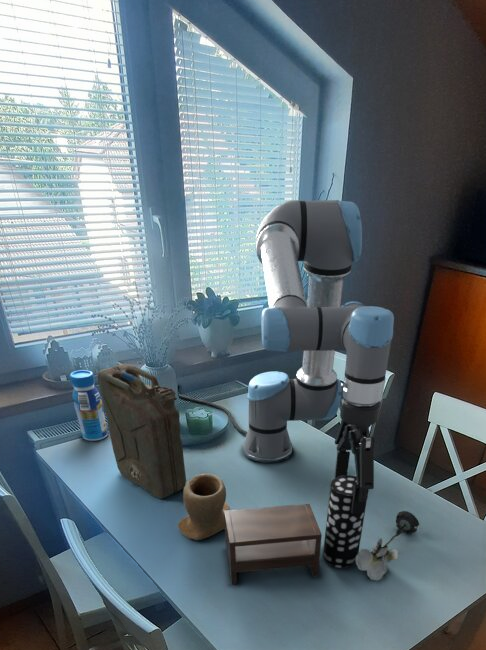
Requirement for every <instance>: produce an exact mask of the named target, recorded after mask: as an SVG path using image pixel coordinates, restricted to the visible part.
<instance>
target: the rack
mask: <svg viewBox="0 0 486 650" xmlns="http://www.w3.org/2000/svg"><path fill="white" fill-rule="evenodd" d="M224 520H225V529H224V537H225V553H226V558H227V563H228V571H229V575H230V576H229V577H230V582H231V583H230V584H231V585H237V584H238V577H237V573H244V572H254V571H265V570H274V569H275V570H276V569H284V568H286V569H287V568H295V567H307V566H308V567H309V571H310V573H311V576H312V577H318V575H319V565H320V555H321V545H322V538H323V537H322V535H323V534H322V531H321V529H320V525H319V524H318V522H317V519H316V516H315V514H314V511H313V509H312V506H311V504H310V503H301V504H289V505H278V506H277V505H276V506H267V507H252V508H241V509H239V508H238V509H230V510H227V511H224Z"/></svg>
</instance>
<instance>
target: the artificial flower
mask: <svg viewBox="0 0 486 650" xmlns="http://www.w3.org/2000/svg"><path fill="white" fill-rule="evenodd" d="M395 525H396V528H397V529H396V532H395V534H394V535H393V536H392V537H391V538H390V539H389V541H387V542H386V543H385V544H384V545H383V537H380V538H379V539H378V540H377V542H376V543H375V544H374V545H373V548H372V551H370V550H369V549H366V548H363V549H360V550H359V552H358V554H357V555H356V559H355V560H356V563H355V564H356V566H357V569H358V570H360V571H364V572H365V571H366V574H367V576H368V578H369V579H370V580H371V581H380V580H382V578H383V576H384V575H385V574H387V571H388V567H387V565H386V564H387V563H391V562H393V561H396V560H398V556H399V550H398V549H397V548H392V549H389V547H388V546H389V545H390V543H391V542H392V541H394V539H395V538H396V537H399V536H400V535H402V533H403V532H404V533H406V534H412V533H417V531H418V529H417V528H418V527H419V526H420V522H419V520H418V518H417V517H416V515H414V514H413V513H412V512H410V511H407V510H401V511H399V512H397V513H396V516H395ZM382 545H383V546H382ZM383 558H384V560H383Z"/></svg>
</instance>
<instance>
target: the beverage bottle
mask: <svg viewBox="0 0 486 650" xmlns="http://www.w3.org/2000/svg"><path fill="white" fill-rule="evenodd" d="M69 380H70V383H71V386H72V387H73V391H72V395H71V397H72V401H74V402H73V407H74V410H75V413H76V417H77V420H78V421H77V422H78V423H79V424H78V425H79V428H80V433H81V437H82V438H83V439H84V440H86V441H90V442H91V441H92V442H95V441H100V440H104V439H105V438H107V436H108V434H109V429H108V425H107V421H106V418H105V413H104V412H105V411H104V406H103V400H102V398H101V392H99V391H100V390H98V388H97V387H96V386H95V382H96V381H95V376H94V374H93V371H91V370H88V369H78V370H74V371H72V372H71V373H70V374H69Z"/></svg>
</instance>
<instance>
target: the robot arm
mask: <svg viewBox="0 0 486 650" xmlns="http://www.w3.org/2000/svg"><path fill="white" fill-rule="evenodd" d="M362 226H363V225H362V218H361V213H360V209H359V207H358V205H357V204H356V203H355V202H354V201H345V200H339V199H331V200H328V199H327V200H326V199H324V200H323V199H322V200H321V199H319V200H300V199H298V200H297V199H296V200H294V199H293V200H288V201H284V202H283V203H280V204H278V205H277V206H275V207H274V208H273V209H271V210H270V211H269V212H268V213H267V214H266V215H265V216H264V218H263V219H262V221H261V222H260V224H259V226H258V229H257V232H256V236H255V251H256V256H257V258H258V261H259V262H260V264H261V265H262V269H263V275H264V283H265V291H266V297H267V304H268V307H264V308H263V309H262V311H261V315H260V316H261V319H260V321H261V323H260V325H261V326H260V327H261V328H260V329H261V332H260V333H261V345H262V347H263V349H264V350H266V351H272V352H281V353H286V352H302V351H303V354H302V366H301V367H300V368H299V369H298V370H297V371H296V375H295V378H290V377H289V375H288V374H287V373H285V372H283V371H278V370H277V371H275V370H274V371H273V370H272V371H265V372H262V373H259V374H256V375H255V376H253V378H251V379H250V381H249V383H248V389H247V390H248V391H247V393H248V394H247V401H248V429H247V431H246V430H244V429H242V428H241V427H240V426H239V425H238V424H237V423H236V420H235V419H234V417H233V416H232V414H231V412H230V410H229V409H227V408H226V407H223V406H222V405H220V404H217V403H214V402H211V401H207V400H203V399H198V398H194V397H190V396H188V395H183V394H180V393H179V396H178V397H179V398H180V399H184V400H187V401H191V402H195V403H199V404H205V405H208V406H212V407H214V408H217V409H220V410H221V411H223V412H225V414H227V416H228V418H229V420H230V422H231V423H232V425H233V426H234V428H235V429H236V430H237V431H238V432H240V433H242V434H244V435H245V438H244V441H243V445H242V450H243V455H244V456H245V457H246V458H248V459H249V460H251V461H254V462H258V463H264V464H272V463H278V462H279V463H280V462H282V461H284V460H286V459H287V460H288V458H289V457H291V455H292V453H293V446H292V441H291V438H290V435H289V431H288V422H295V421H297V422H298V421H317V422H321V421H326V420H332V419H333V418H334V417H335V416H336V415H337V413H338V412H339V408H340V412H339V417H340V419H341V421H340V424H339V426H338V430H337V433H336V436H335V439H334V444H335V445H336V451H337V452H336V458H335V459H336V460H335V469H334V477H333V479H334V478H336V477H338V476H343V475H348V473H349V466H350V465H349V464H350V457H351V453H352V454H353V456H354V457H353V458H354V468H355V476H356V480H357V484H356V485H354V486H353V487H354V494H353V501H352V508H351V513H352V514H354V513H365V514H366V510H365V507H366V508H367V504H366V501H367V502H368V497H367V494H368V495H369V491H368V489H369V490H374V489H375V442H376V439H375V438H376V437H374V436H371V432H370V427H372V425H375V424H376V423H377V422H378V421H379V419H380V414H381V407H382V402H381V401H382V399H383V396H384V391H385V384H386V373H387V368H388V363H389V357H390V350H391V345H392V340H393V337H394V323H395V315H394V313H393V312H392V311H391V310H390V309H387V308H384V307H382V306H381V307H380V306H376V305H375V306H374V305H368V306H367V305H365V304H363V303H362V302H359V301H355V300H354V301H353V300H352V301H348V302H346V303H344V304H342V305H341V303H342V295H343V286H344V279H345V278H346V277H347V276H348V275H349V274H350V273H351V271H352V266H353V265H352V264H353V263H356V262H359V260H360V258H361V255H362V249H363V227H362ZM299 262H303V270H304V271H305V273H306V274H307V275H308V286H307V298H306V294H305V293H306V292H305V289H304V284H303V279H302V274H301V269H300V265H299V264H300V263H299ZM336 351H345V352H346V355H345V356H346V358H345V369H344V377H343V378H344V379H343V382H342V381H341V380H340V379H339V378H338V374H337V372H336V371H335V370H334V363H335V354H336ZM342 397H343V398H342ZM350 451H351V452H350Z"/></svg>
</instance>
